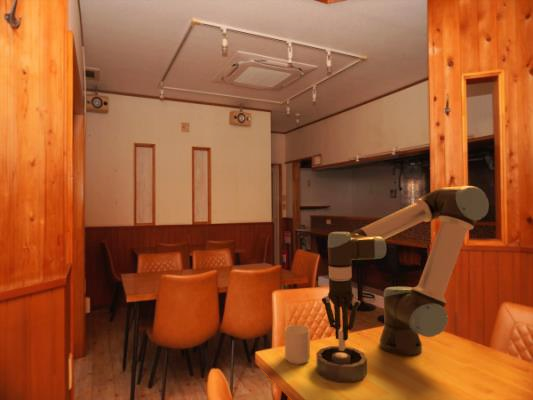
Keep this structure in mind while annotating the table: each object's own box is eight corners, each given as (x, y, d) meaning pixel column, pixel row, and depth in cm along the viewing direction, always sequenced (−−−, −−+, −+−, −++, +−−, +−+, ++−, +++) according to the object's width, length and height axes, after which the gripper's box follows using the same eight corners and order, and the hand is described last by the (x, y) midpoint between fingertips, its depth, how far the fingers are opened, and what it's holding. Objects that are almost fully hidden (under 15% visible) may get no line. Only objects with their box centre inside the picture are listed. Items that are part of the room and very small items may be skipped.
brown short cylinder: (348, 366, 124) (348, 351, 124) (352, 375, 118) (352, 358, 118) (330, 366, 124) (330, 351, 124) (333, 375, 118) (333, 359, 118)
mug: (310, 365, 125) (310, 333, 125) (284, 365, 126) (284, 333, 126) (309, 351, 137) (308, 321, 137) (285, 350, 138) (285, 321, 138)
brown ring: (359, 360, 129) (359, 345, 129) (371, 382, 113) (371, 366, 113) (314, 360, 129) (314, 345, 129) (320, 382, 113) (320, 366, 114)
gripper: (362, 277, 122) (364, 348, 122) (325, 274, 128) (327, 342, 128) (356, 282, 115) (358, 357, 115) (317, 279, 121) (319, 350, 121)
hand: (342, 349), depth 121 cm, fingers closed
